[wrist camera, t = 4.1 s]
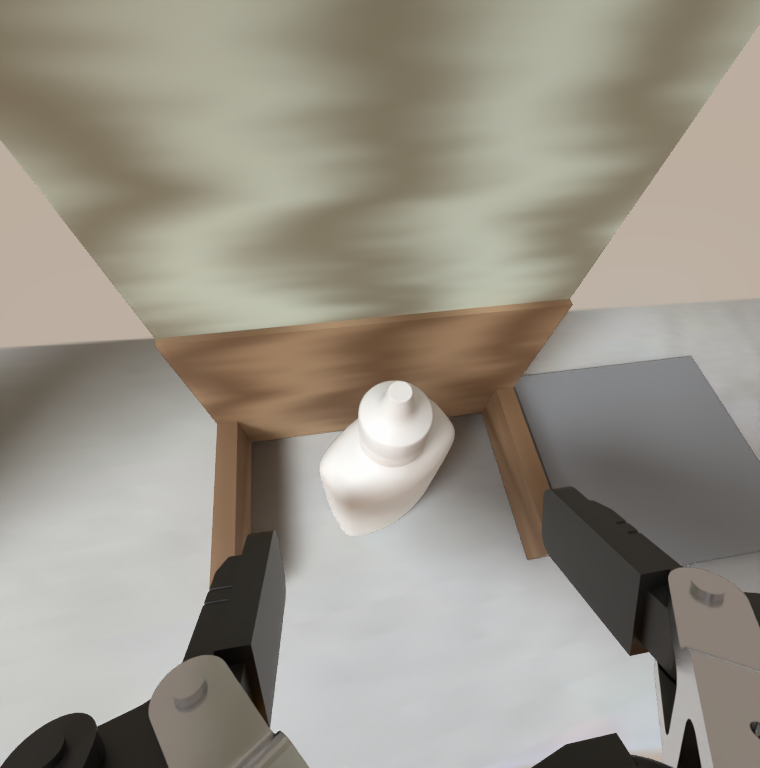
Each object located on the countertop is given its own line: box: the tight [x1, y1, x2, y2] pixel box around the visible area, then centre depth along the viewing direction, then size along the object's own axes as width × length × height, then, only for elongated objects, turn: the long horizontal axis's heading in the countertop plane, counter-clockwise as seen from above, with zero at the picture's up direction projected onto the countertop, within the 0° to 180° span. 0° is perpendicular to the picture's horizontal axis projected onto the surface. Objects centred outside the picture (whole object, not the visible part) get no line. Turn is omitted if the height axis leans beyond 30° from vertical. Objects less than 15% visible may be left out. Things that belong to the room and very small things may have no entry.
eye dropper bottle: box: [319, 380, 455, 536], centre depth 16 cm, size 4×6×12 cm
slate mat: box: [513, 356, 760, 566], centre depth 23 cm, size 13×12×1 cm
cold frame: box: [0, 0, 760, 591], centre depth 13 cm, size 16×10×20 cm, turn 99°
